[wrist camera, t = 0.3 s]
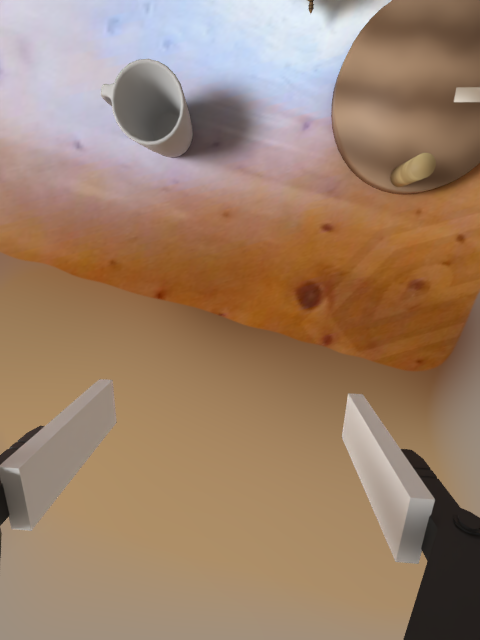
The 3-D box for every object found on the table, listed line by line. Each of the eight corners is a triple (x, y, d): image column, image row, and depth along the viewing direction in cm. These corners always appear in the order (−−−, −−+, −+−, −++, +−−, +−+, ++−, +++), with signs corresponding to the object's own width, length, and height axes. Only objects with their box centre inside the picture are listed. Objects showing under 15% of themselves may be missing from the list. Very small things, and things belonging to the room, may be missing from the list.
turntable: (341, 0, 32) (363, -64, 26) (528, -4, 31) (602, -72, 25) (323, 193, 38) (338, 181, 31) (484, 195, 36) (535, 184, 30)
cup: (190, 174, 39) (172, 156, 30) (119, 146, 38) (81, 120, 30) (208, 112, 37) (194, 75, 28) (133, 82, 36) (97, 35, 28)
